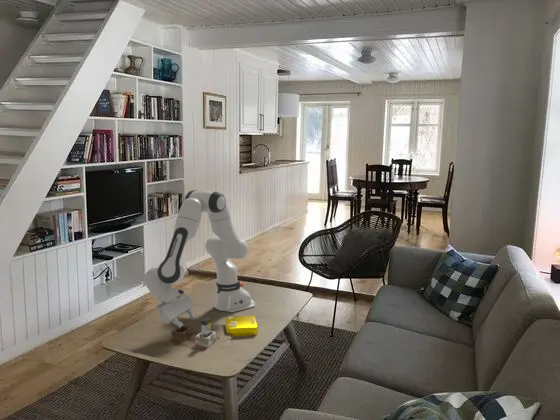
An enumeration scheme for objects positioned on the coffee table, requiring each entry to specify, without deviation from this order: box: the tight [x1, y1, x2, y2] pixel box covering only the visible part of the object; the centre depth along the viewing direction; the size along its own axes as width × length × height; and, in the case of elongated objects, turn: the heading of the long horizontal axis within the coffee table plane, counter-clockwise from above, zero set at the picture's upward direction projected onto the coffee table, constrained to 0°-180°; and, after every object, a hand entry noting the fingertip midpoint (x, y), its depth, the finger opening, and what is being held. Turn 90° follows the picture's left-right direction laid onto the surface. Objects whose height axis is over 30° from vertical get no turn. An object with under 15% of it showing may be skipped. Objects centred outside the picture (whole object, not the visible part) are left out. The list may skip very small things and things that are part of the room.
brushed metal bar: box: [200, 316, 212, 338], centre depth 211 cm, size 4×2×11 cm, turn 158°
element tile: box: [224, 314, 259, 338], centre depth 229 cm, size 15×15×5 cm
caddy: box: [166, 325, 221, 351], centre depth 214 cm, size 14×20×6 cm
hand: (187, 322), depth 214 cm, fingers open, 8 cm apart
